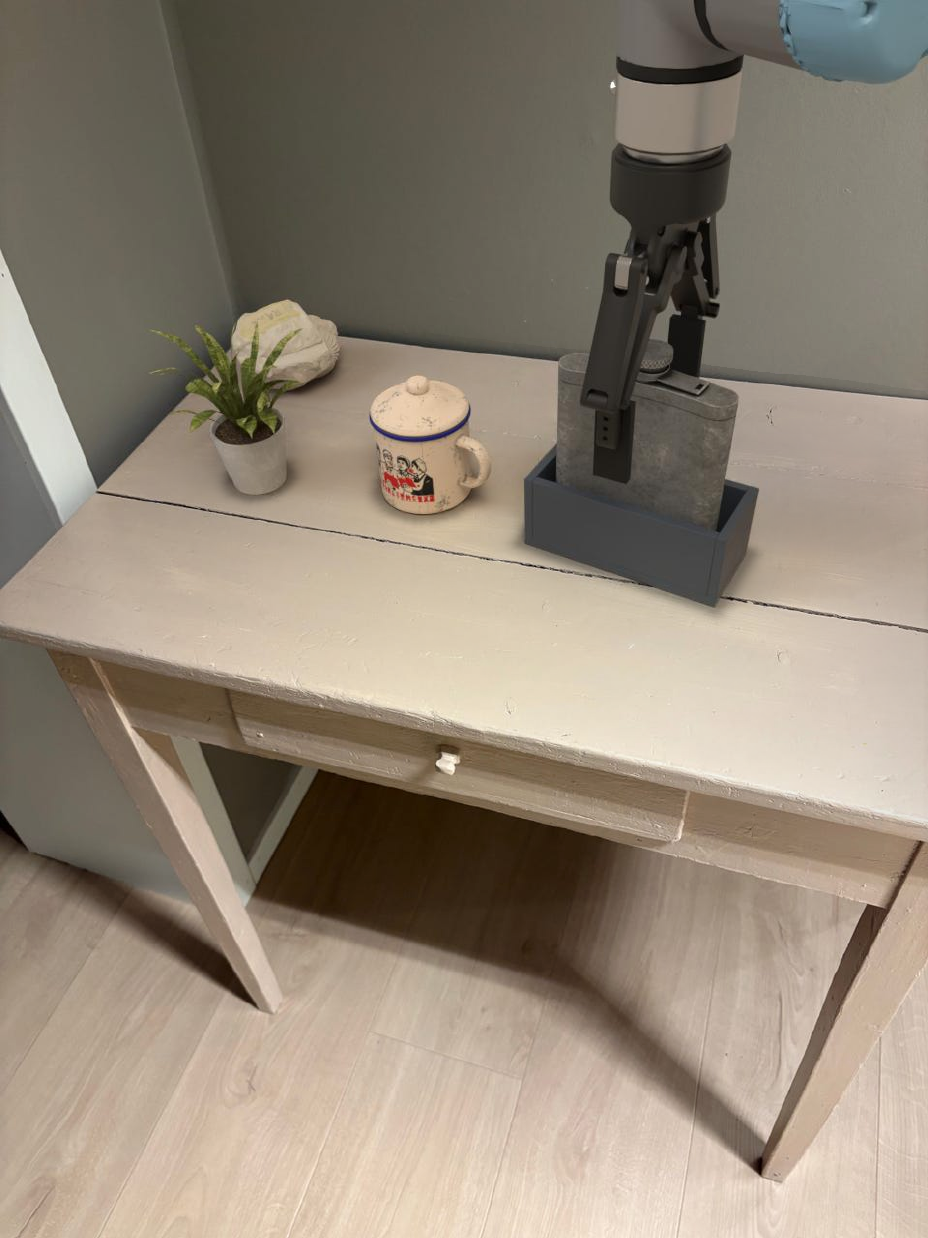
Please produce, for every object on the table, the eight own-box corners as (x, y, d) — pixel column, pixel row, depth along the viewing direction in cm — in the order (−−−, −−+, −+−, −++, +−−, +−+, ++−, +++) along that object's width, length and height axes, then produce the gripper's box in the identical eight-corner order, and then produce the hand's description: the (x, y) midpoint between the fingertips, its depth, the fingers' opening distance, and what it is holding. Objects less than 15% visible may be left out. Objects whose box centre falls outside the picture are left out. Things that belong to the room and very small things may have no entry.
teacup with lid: (360, 497, 91) (343, 389, 83) (419, 450, 96) (408, 344, 88) (461, 540, 86) (454, 429, 78) (518, 489, 91) (517, 379, 83)
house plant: (147, 514, 91) (92, 358, 80) (212, 434, 100) (171, 284, 89) (285, 534, 88) (248, 374, 76) (339, 449, 97) (313, 296, 86)
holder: (746, 554, 83) (759, 488, 78) (714, 607, 78) (726, 541, 73) (563, 497, 90) (564, 433, 85) (524, 543, 85) (523, 478, 80)
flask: (567, 503, 87) (573, 318, 75) (719, 550, 82) (753, 359, 69) (549, 526, 85) (552, 339, 73) (703, 576, 79) (735, 382, 67)
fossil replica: (362, 361, 110) (288, 355, 114) (349, 289, 105) (273, 285, 109) (307, 407, 102) (230, 399, 106) (291, 331, 97) (211, 325, 100)
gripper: (688, 84, 70) (664, 353, 84) (526, 202, 55) (530, 504, 69) (791, 93, 67) (747, 371, 81) (648, 221, 52) (626, 533, 66)
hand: (647, 433), depth 75 cm, fingers open, 13 cm apart
